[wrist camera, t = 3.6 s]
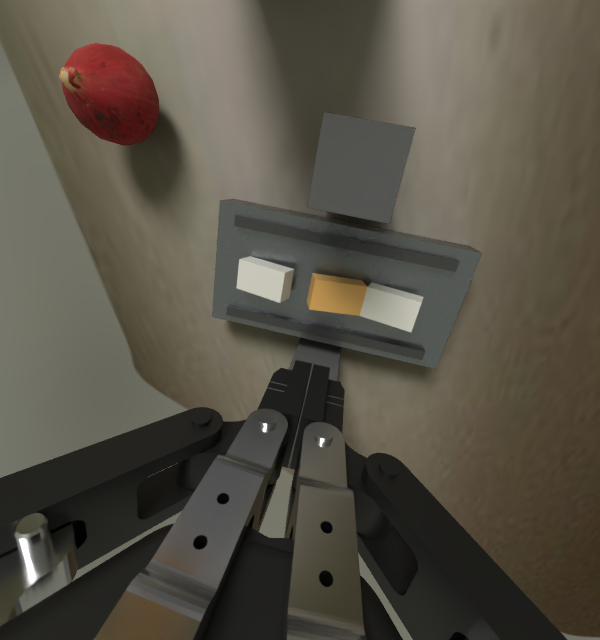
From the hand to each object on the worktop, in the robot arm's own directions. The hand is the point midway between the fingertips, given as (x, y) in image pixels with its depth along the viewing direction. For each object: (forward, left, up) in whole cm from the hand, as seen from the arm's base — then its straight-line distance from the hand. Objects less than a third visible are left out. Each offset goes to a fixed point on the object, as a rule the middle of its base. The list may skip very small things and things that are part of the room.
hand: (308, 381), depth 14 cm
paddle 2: (-5, 0, -14) cm, 15 cm away
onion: (+18, -11, -17) cm, 27 cm away
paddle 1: (+5, 0, -14) cm, 15 cm away
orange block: (0, 0, -14) cm, 14 cm away
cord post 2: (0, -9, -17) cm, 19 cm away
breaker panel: (0, 0, -17) cm, 17 cm away
